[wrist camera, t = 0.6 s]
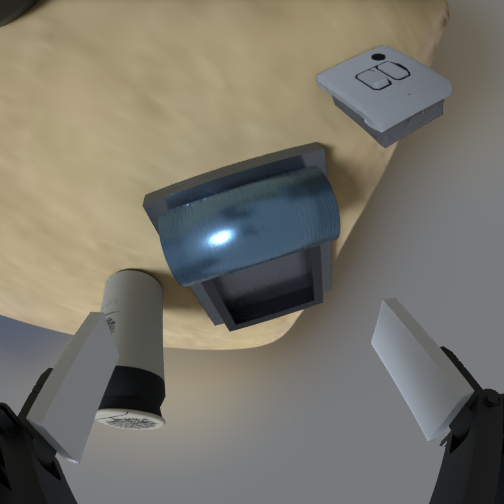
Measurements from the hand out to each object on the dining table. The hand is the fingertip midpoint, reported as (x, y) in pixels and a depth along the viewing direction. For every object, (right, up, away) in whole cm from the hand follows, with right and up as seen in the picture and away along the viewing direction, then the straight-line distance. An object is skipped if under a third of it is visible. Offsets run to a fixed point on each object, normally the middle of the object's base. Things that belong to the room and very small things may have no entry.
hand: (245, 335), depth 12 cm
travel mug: (-15, -1, +22) cm, 27 cm away
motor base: (+1, +4, +21) cm, 22 cm away
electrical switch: (+11, +21, +10) cm, 26 cm away
